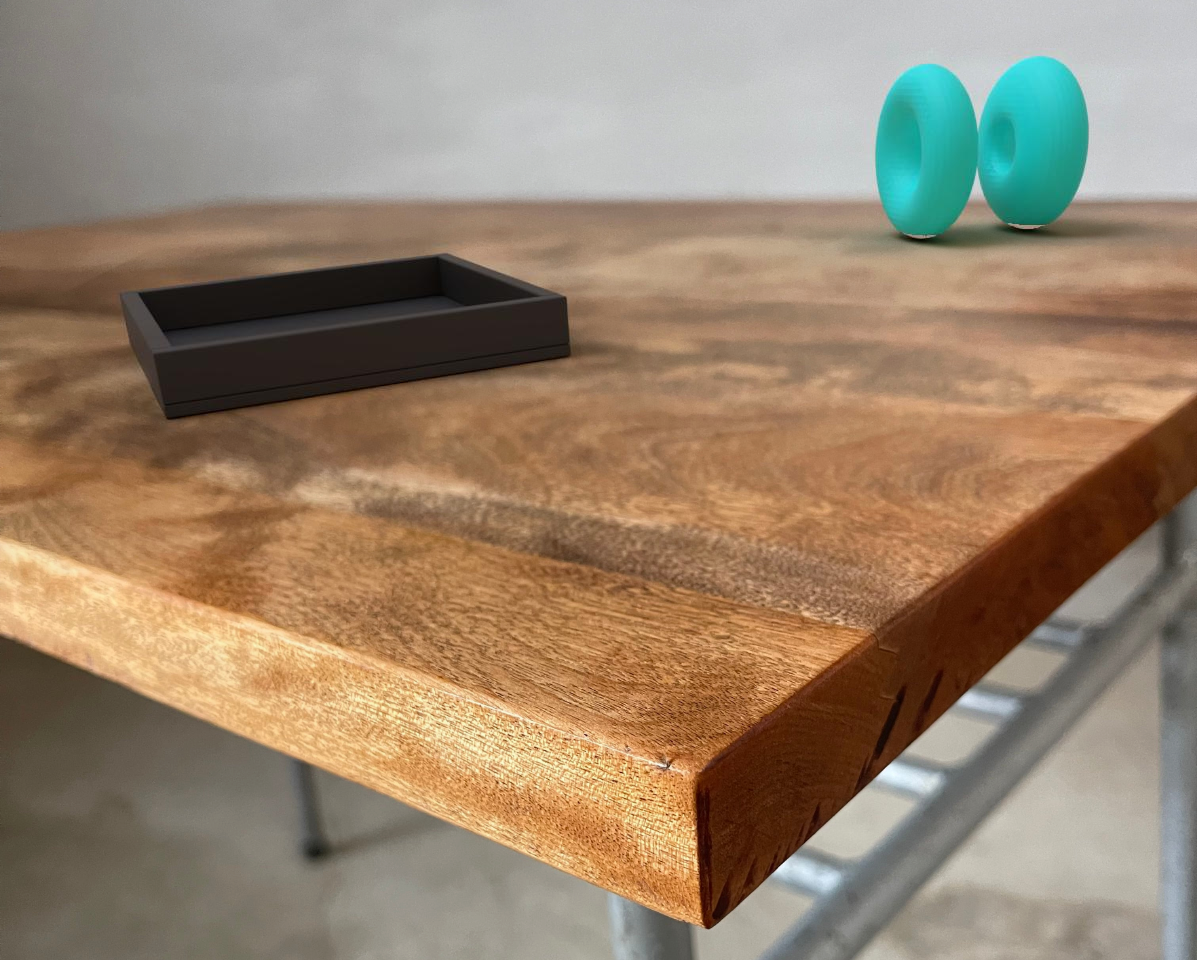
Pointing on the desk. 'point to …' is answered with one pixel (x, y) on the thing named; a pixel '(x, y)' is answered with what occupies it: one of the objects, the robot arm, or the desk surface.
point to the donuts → (981, 146)
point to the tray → (336, 330)
